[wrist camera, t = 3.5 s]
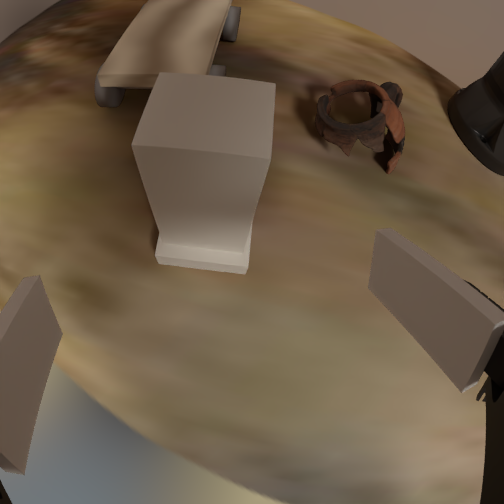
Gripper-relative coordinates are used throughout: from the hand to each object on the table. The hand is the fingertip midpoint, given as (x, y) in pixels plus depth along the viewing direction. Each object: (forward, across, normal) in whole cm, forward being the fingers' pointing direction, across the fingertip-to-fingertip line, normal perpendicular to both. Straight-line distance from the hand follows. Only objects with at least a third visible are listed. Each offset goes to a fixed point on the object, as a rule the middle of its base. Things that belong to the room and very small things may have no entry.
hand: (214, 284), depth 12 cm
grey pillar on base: (+15, +1, -4) cm, 16 cm away
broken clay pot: (+22, +18, +2) cm, 28 cm away
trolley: (+31, 0, +12) cm, 33 cm away
